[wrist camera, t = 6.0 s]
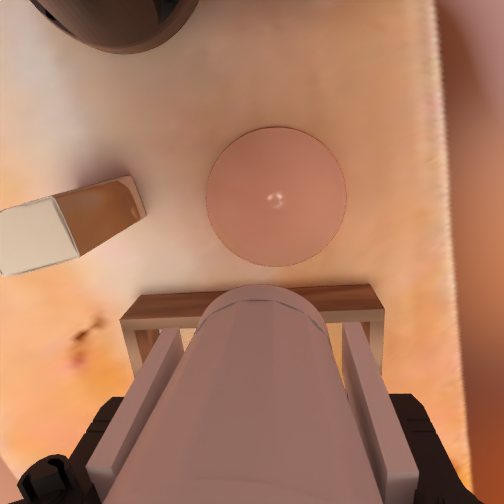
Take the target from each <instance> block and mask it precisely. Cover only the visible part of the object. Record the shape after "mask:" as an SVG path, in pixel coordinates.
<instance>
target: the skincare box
mask: <svg viewBox="0 0 504 504" xmlns="http://www.w3.org/2000/svg"><path fill="white" fill-rule="evenodd" d="M144 217H146V213H145V210H144V207H143V204H142V202H141V199H140V196H139V193H138V191H137V188H136V186H135V183H134V180H133V178H132V176H130V175H128V176H124V177H120V178H116V179H112V180H109V181H105V182H101V183H97V184H93V185H90V186H86V187H82V188H78V189H74V190H71V191H67V192H63V193H59V194H55V195H52V196H48V197H45V198H41V199H38V200H34V201H31V202H28V203H24V204H21V205H18V206H14V207H11V208H8V209H5V210H1V211H0V273H1V275H2V276H3V277H9V276H14V275H19V274H24V273H28V272H32V271H35V270H39V269H43V268H46V267H50V266H53V265H57V264H60V263H63V262H67V261H70V260H73V259H76V258H79V257H81V256H82V255H84V254H86V253H87V252H89V251H90V250H92V249H94V248H95V247H97V246H99V245H100V244H102V243H103V242H105V241H107V240H108V239H110V238H111V237H113V236H115V235H116V234H118V233H119V232H121V231H123V230H124V229H126V228H127V227H129V226H131V225H132V224H134V223H136V222H137V221H139V220H141V219H142V218H144Z"/></svg>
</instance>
